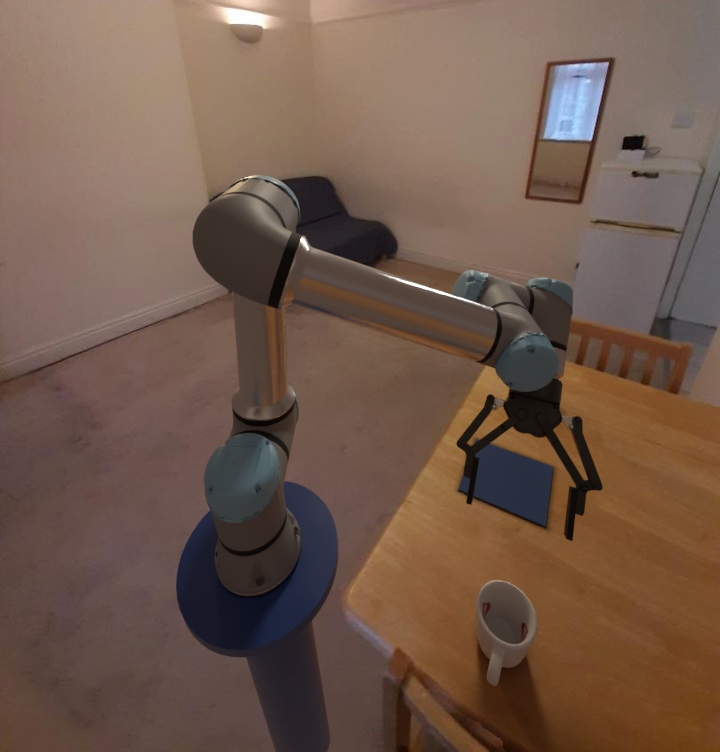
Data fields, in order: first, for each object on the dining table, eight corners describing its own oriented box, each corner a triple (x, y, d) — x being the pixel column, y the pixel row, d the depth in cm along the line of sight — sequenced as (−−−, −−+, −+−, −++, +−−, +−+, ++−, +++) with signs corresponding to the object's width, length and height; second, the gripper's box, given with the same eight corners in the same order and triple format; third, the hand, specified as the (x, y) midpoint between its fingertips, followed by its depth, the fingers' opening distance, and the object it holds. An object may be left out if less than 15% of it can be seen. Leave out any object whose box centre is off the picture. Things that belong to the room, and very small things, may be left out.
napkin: (458, 490, 80) (458, 489, 80) (475, 439, 91) (475, 438, 91) (545, 527, 73) (545, 526, 73) (553, 467, 84) (553, 466, 84)
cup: (519, 719, 51) (529, 691, 48) (458, 678, 55) (463, 649, 51) (533, 628, 60) (542, 598, 56) (479, 597, 63) (484, 568, 60)
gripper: (456, 353, 66) (428, 493, 60) (635, 393, 56) (622, 563, 51) (460, 359, 72) (436, 485, 67) (621, 396, 63) (608, 546, 57)
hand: (516, 519), depth 59 cm, fingers open, 13 cm apart
